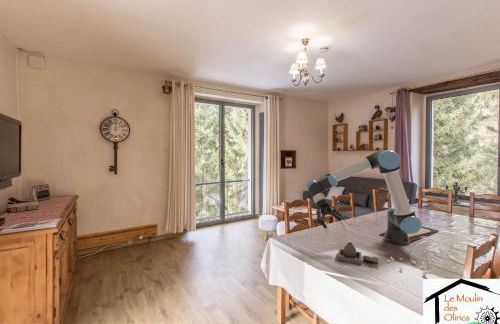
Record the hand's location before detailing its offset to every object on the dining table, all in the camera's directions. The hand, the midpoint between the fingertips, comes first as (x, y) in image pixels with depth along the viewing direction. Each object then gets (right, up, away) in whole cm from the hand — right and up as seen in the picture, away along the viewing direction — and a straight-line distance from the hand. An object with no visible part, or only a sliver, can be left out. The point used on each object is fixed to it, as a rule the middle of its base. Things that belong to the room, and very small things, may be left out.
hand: (338, 231), depth 144 cm
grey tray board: (+7, -13, -9) cm, 18 cm away
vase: (+4, -13, -8) cm, 16 cm away
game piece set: (+31, -15, -16) cm, 38 cm away
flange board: (+7, -14, -9) cm, 18 cm away
